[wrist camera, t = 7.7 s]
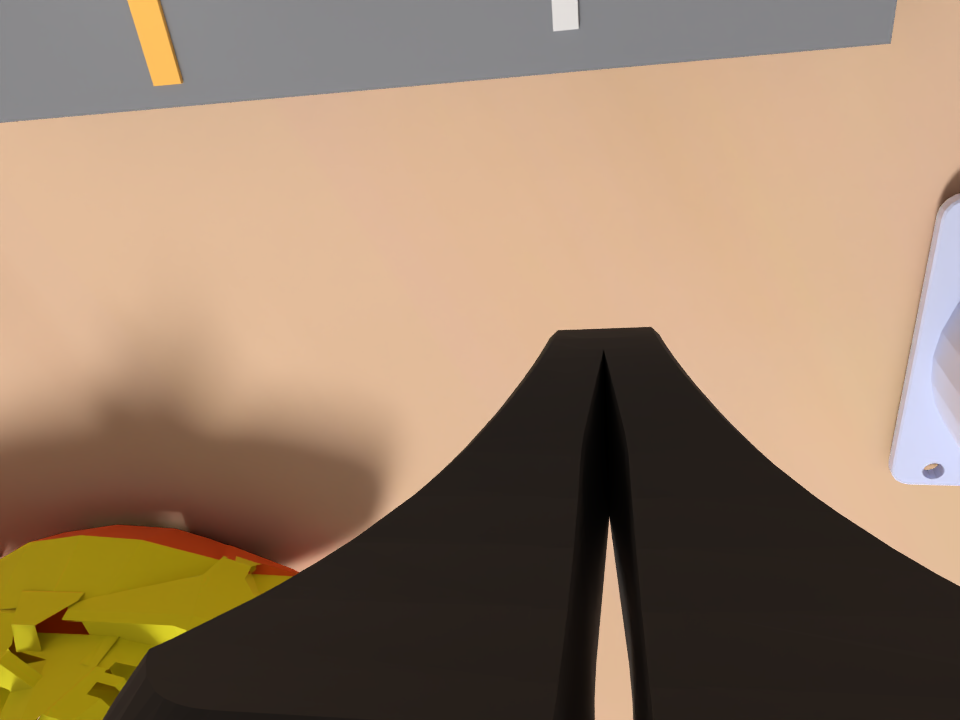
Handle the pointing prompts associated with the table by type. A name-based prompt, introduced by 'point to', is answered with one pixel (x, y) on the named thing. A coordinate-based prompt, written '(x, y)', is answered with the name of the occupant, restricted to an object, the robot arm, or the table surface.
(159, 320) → the table surface
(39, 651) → the toy boat
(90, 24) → the console board
